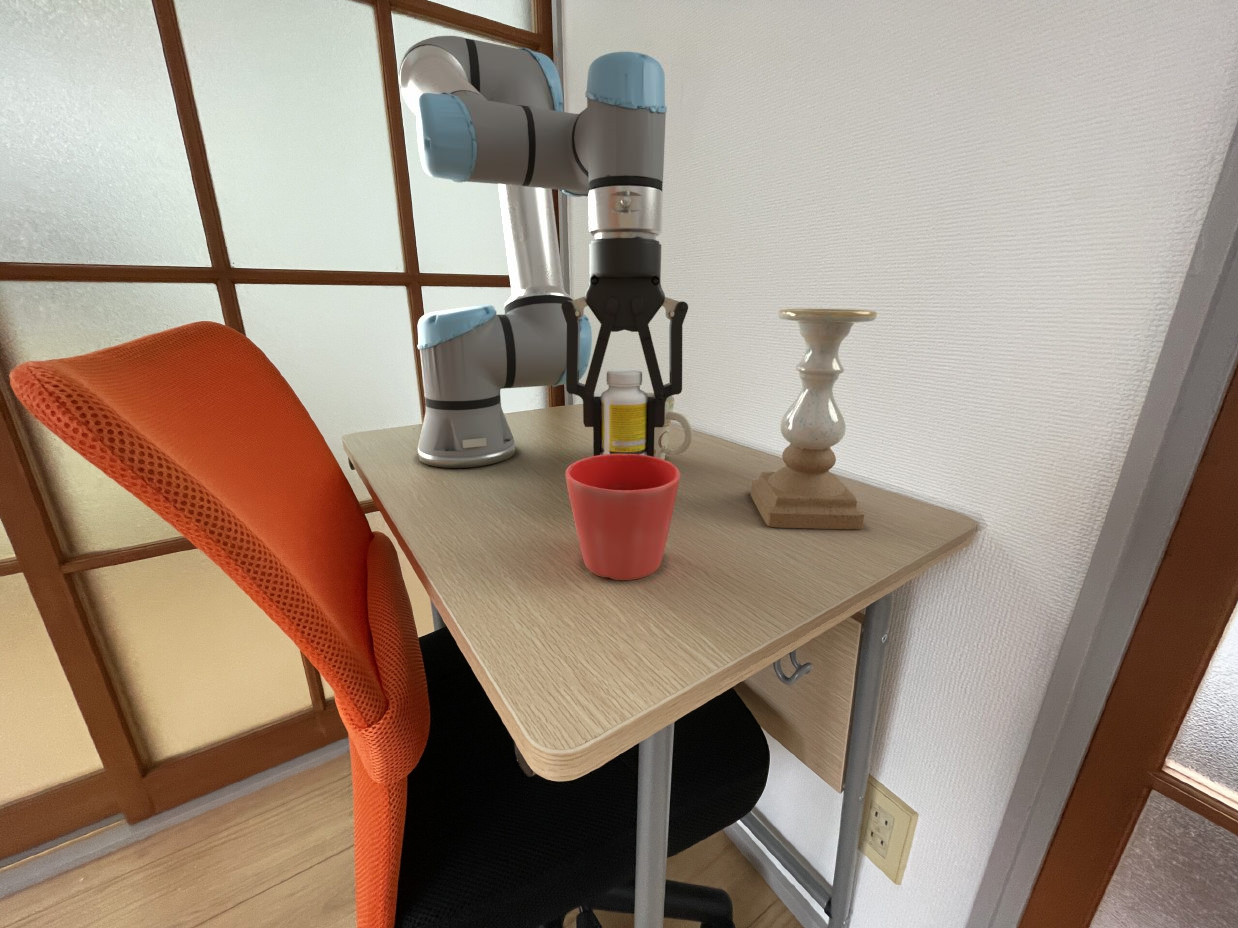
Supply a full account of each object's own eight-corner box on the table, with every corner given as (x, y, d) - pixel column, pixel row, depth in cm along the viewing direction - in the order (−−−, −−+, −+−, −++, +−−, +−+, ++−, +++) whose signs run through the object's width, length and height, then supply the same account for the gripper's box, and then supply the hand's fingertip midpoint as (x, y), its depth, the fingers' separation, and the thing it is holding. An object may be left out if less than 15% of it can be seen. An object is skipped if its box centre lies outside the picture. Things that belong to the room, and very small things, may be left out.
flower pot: (597, 602, 46) (596, 498, 43) (552, 549, 55) (549, 461, 52) (697, 574, 50) (703, 478, 47) (640, 530, 60) (642, 447, 57)
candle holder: (767, 527, 60) (789, 311, 53) (749, 493, 71) (765, 308, 63) (864, 529, 60) (900, 312, 53) (831, 494, 70) (858, 308, 63)
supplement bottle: (656, 456, 61) (658, 372, 58) (621, 465, 58) (621, 376, 55) (625, 446, 65) (626, 367, 62) (591, 454, 62) (590, 371, 59)
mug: (639, 448, 91) (640, 390, 88) (704, 461, 84) (708, 399, 81) (610, 459, 85) (610, 398, 82) (678, 475, 78) (681, 408, 75)
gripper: (530, 234, 51) (539, 463, 58) (721, 235, 51) (707, 464, 58) (541, 242, 58) (549, 444, 65) (709, 242, 58) (698, 445, 65)
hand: (623, 453), depth 62 cm, fingers closed on supplement bottle, 5 cm apart
